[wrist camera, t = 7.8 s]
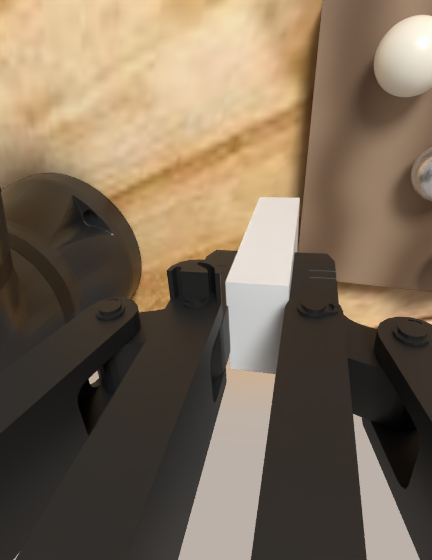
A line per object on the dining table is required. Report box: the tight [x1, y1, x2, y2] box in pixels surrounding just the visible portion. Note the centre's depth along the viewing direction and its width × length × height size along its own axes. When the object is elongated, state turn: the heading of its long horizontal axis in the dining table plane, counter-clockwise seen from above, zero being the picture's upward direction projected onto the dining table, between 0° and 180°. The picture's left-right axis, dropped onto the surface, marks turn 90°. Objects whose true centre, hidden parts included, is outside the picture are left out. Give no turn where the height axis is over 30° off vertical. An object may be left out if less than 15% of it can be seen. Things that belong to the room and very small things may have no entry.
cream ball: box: [374, 15, 432, 97], centre depth 21 cm, size 4×4×4 cm
